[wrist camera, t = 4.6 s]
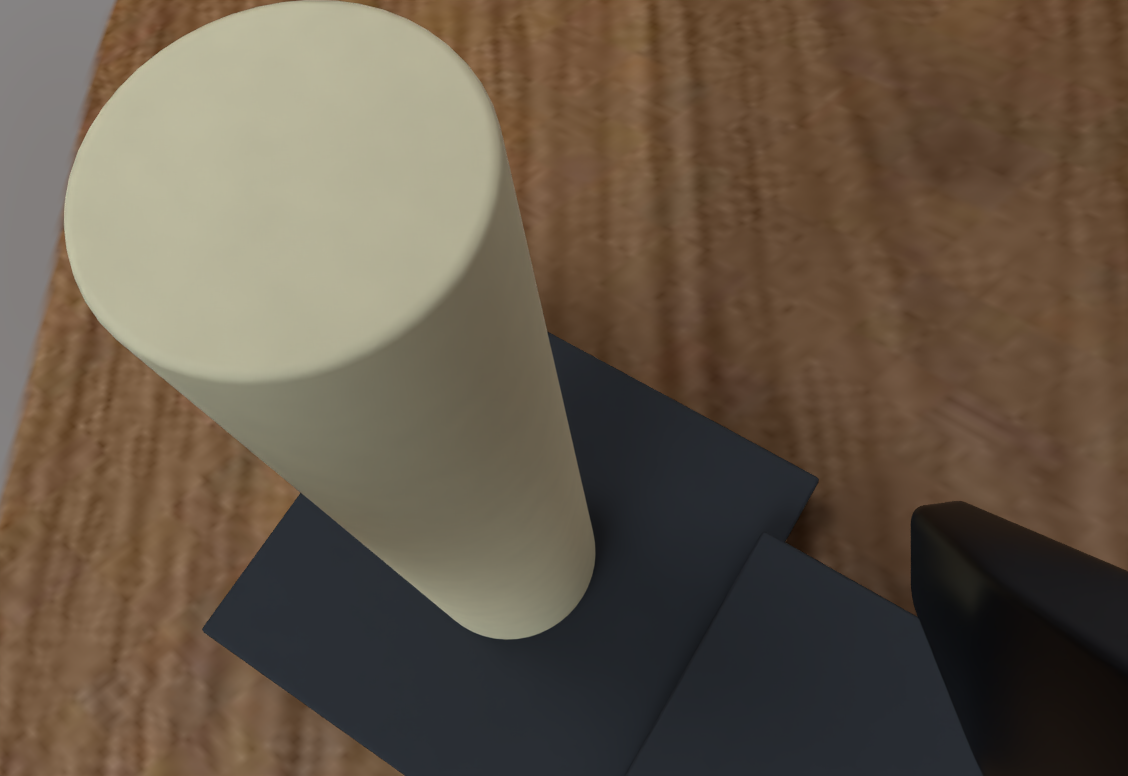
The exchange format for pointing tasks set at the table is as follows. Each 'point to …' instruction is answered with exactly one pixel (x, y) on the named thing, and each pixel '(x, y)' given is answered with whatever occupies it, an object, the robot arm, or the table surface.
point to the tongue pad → (641, 644)
